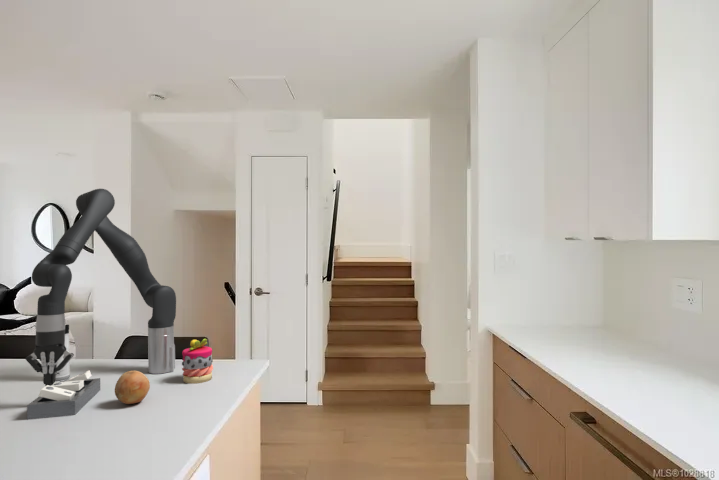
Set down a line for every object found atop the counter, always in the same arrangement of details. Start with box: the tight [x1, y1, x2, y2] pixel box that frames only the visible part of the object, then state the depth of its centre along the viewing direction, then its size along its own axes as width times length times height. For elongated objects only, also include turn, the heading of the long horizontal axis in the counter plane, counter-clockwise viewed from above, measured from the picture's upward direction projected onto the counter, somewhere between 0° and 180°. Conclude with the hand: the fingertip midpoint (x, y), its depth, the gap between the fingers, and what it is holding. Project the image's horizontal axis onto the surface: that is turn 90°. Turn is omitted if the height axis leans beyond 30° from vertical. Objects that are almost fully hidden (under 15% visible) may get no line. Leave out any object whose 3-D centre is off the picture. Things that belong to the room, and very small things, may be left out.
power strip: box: [26, 377, 101, 420], centre depth 146 cm, size 12×33×4 cm, turn 14°
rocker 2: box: [62, 369, 93, 382], centre depth 150 cm, size 8×4×2 cm, turn 105°
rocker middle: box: [51, 380, 84, 391], centre depth 142 cm, size 8×4×2 cm, turn 104°
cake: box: [181, 338, 214, 385], centre depth 166 cm, size 10×11×15 cm
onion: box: [114, 370, 151, 405], centre depth 141 cm, size 10×10×10 cm
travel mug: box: [55, 324, 71, 382], centre depth 170 cm, size 6×7×20 cm
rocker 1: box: [38, 385, 76, 401], centre depth 135 cm, size 8×4×2 cm, turn 104°
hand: (49, 385), depth 141 cm, fingers closed
